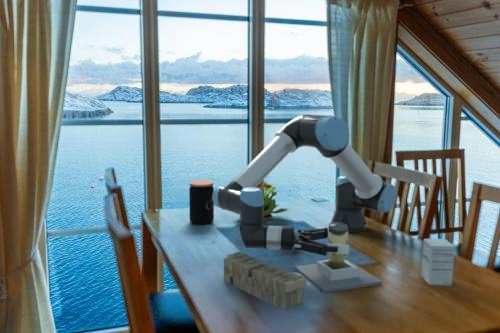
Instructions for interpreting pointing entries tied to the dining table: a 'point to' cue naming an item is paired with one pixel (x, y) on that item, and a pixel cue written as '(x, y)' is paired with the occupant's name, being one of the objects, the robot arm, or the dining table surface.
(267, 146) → the robot arm
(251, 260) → the block tower
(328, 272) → the socket plate
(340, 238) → the lidded glass jar
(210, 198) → the coffee jar
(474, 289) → the dining table surface
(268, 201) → the potted flower
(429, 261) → the supplement box
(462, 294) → the dining table surface
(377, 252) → the dining table surface
